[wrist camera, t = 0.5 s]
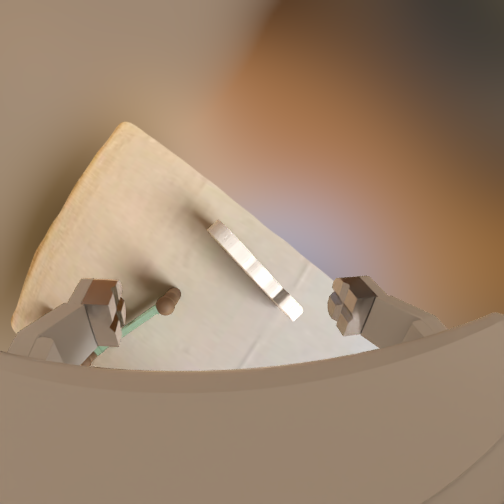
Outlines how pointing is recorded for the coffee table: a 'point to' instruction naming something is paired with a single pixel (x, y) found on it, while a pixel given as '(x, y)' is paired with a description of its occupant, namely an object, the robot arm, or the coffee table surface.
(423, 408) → the robot arm
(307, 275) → the coffee table surface
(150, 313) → the gate
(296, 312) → the cutout
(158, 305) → the gate posts
